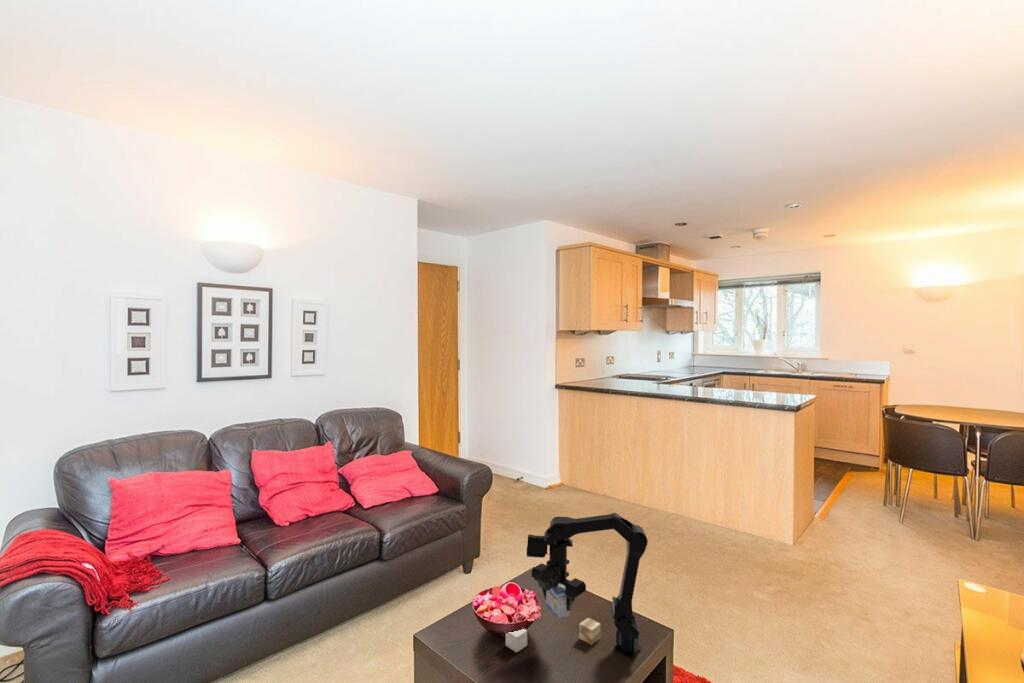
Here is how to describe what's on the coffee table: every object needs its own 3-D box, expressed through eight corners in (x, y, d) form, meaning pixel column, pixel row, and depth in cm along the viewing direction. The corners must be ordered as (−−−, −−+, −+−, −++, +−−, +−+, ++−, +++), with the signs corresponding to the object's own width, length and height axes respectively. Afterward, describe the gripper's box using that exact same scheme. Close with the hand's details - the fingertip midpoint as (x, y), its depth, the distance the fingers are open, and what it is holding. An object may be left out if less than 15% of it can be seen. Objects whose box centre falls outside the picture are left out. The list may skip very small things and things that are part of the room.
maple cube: (600, 638, 160) (600, 623, 160) (591, 645, 156) (592, 630, 156) (587, 631, 163) (588, 617, 163) (579, 638, 160) (579, 623, 159)
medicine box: (545, 606, 159) (545, 580, 159) (557, 603, 161) (557, 577, 161) (557, 619, 152) (558, 592, 152) (569, 616, 154) (570, 589, 154)
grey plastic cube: (527, 645, 156) (527, 630, 156) (516, 652, 152) (516, 637, 152) (516, 638, 159) (516, 623, 159) (505, 645, 155) (505, 630, 155)
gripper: (520, 556, 157) (520, 603, 157) (565, 576, 144) (565, 628, 144) (542, 545, 165) (541, 590, 165) (587, 564, 152) (586, 612, 152)
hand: (557, 605), depth 156 cm, fingers closed on medicine box, 9 cm apart
